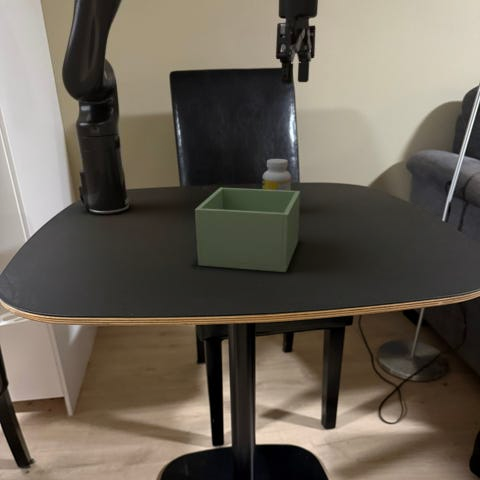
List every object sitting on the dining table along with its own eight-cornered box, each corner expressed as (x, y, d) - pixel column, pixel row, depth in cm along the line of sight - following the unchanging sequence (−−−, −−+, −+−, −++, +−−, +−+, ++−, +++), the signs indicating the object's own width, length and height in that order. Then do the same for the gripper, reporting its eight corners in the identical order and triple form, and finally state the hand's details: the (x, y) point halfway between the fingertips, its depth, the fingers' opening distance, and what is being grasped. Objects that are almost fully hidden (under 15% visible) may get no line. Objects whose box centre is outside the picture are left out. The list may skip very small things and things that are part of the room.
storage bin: (198, 265, 84) (194, 209, 80) (221, 236, 98) (219, 187, 93) (285, 272, 81) (288, 214, 76) (297, 241, 94) (300, 190, 90)
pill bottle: (260, 208, 116) (260, 158, 110) (287, 207, 116) (288, 157, 111) (264, 216, 110) (264, 163, 105) (292, 214, 111) (294, 162, 105)
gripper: (295, -7, 99) (292, 81, 106) (264, -14, 88) (263, 84, 95) (330, -9, 95) (324, 81, 103) (302, -18, 84) (298, 85, 92)
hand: (295, 83), depth 99 cm, fingers open, 8 cm apart
